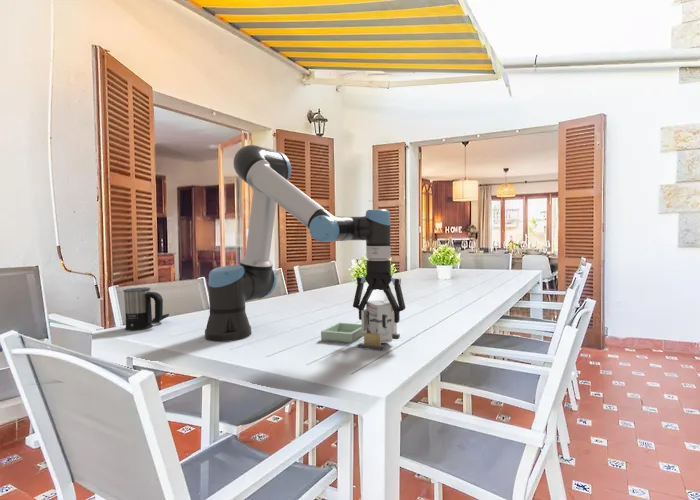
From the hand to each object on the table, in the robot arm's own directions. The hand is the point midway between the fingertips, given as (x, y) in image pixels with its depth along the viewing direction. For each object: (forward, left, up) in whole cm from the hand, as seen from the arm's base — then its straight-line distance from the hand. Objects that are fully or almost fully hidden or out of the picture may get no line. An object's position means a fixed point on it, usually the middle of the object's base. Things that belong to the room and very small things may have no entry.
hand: (378, 331), depth 133 cm
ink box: (0, 0, -3) cm, 3 cm away
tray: (-13, +2, -3) cm, 14 cm away
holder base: (0, 0, -3) cm, 3 cm away
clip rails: (0, 0, -3) cm, 3 cm away
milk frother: (-91, -7, -4) cm, 91 cm away
